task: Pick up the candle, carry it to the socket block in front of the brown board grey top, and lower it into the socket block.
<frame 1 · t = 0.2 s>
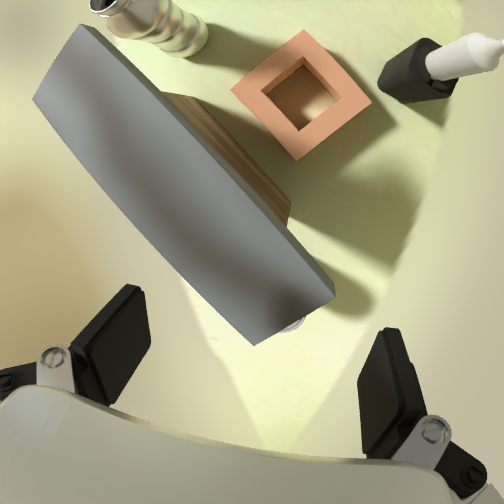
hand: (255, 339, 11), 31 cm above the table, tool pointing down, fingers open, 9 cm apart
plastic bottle: (189, 40, 33), on the table
brown board grey top: (247, 142, 38), on the table
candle: (397, 82, 31), on the table
socket block: (301, 97, 34), on the table
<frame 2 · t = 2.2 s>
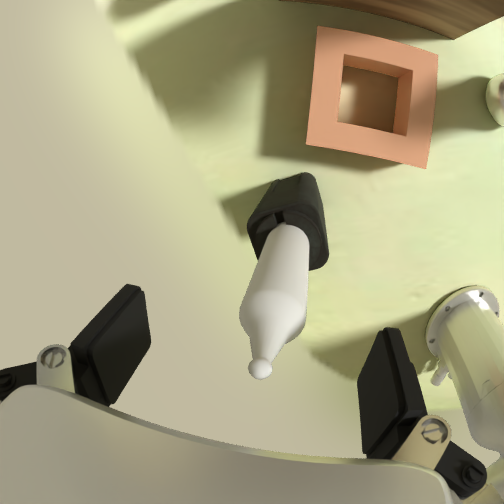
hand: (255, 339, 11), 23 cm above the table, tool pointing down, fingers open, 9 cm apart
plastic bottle: (498, 101, 22), on the table
brown board grey top: (371, 20, 22), on the table
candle: (296, 197, 32), on the table
socket block: (366, 98, 26), on the table
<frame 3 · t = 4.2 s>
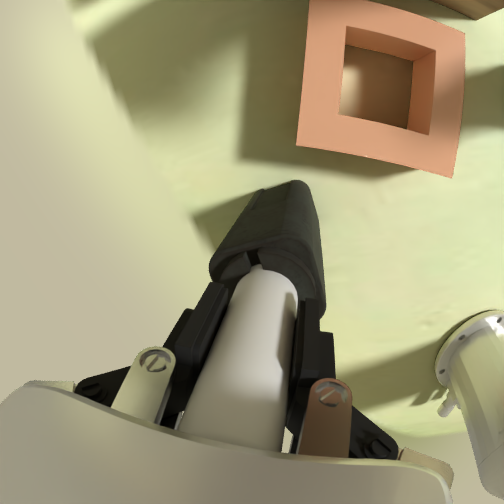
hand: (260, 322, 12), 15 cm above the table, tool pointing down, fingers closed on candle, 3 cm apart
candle: (286, 211, 26), on the table, touching gripper
socket block: (374, 86, 20), on the table
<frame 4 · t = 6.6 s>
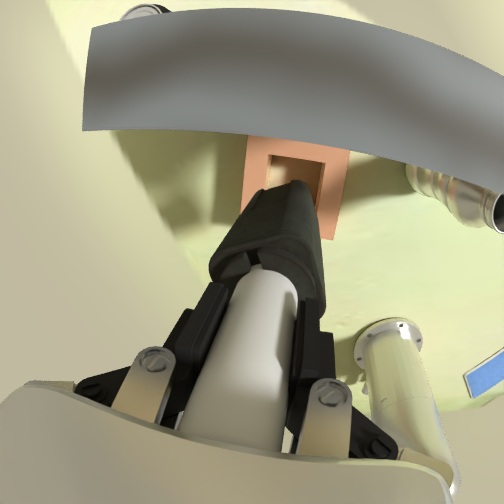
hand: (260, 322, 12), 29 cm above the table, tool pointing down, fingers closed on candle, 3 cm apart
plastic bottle: (422, 166, 34), on the table
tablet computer: (500, 362, 45), on the table
brown board grey top: (303, 106, 34), on the table
beverage can: (182, 47, 33), on the table
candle: (285, 211, 26), point 14 cm above the table, touching gripper
socket block: (294, 178, 38), on the table
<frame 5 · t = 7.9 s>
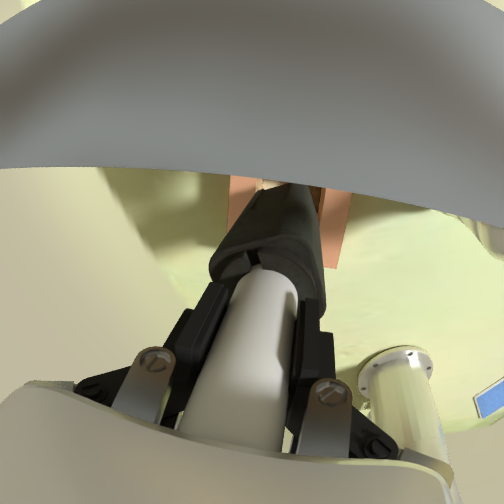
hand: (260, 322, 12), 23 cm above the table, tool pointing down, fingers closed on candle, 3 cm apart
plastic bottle: (439, 178, 29), on the table
brown board grey top: (301, 108, 28), on the table
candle: (285, 211, 26), point 7 cm above the table, touching gripper
socket block: (291, 193, 33), on the table
when the fingers open (17 cm above the table, at t = 9.1 s): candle drops 2 cm, resting in socket block.
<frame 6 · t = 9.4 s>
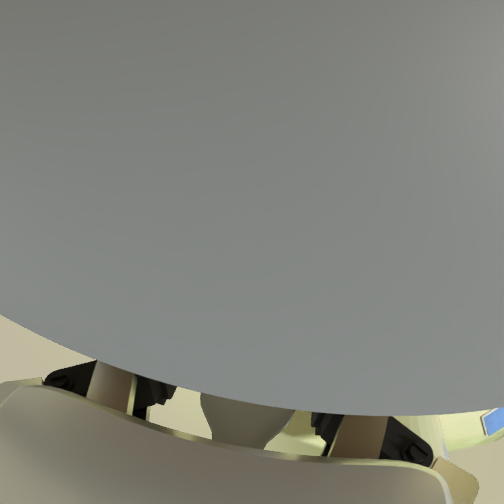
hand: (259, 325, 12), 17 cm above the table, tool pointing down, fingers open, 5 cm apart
brown board grey top: (298, 103, 23), on the table
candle: (288, 207, 28), resting in socket block
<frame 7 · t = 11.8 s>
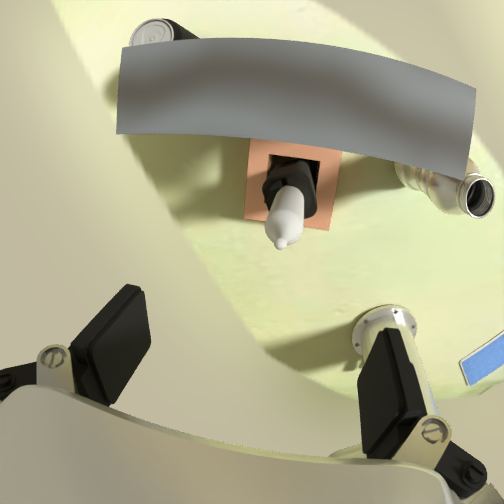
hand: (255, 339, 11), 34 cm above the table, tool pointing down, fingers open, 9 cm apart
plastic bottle: (410, 163, 38), on the table
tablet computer: (495, 350, 49), on the table
brown board grey top: (300, 110, 38), on the table
beverage can: (188, 56, 37), on the table
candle: (294, 176, 42), resting in socket block
socket block: (293, 175, 42), on the table
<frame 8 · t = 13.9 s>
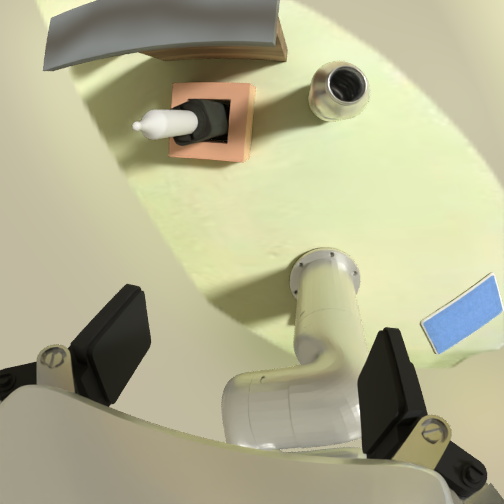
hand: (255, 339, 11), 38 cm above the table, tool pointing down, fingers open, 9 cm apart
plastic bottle: (329, 100, 40), on the table
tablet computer: (463, 313, 51), on the table
brown board grey top: (221, 64, 40), on the table
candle: (218, 121, 44), resting in socket block
socket block: (216, 120, 44), on the table
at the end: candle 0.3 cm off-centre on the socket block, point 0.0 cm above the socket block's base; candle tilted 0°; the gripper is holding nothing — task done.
